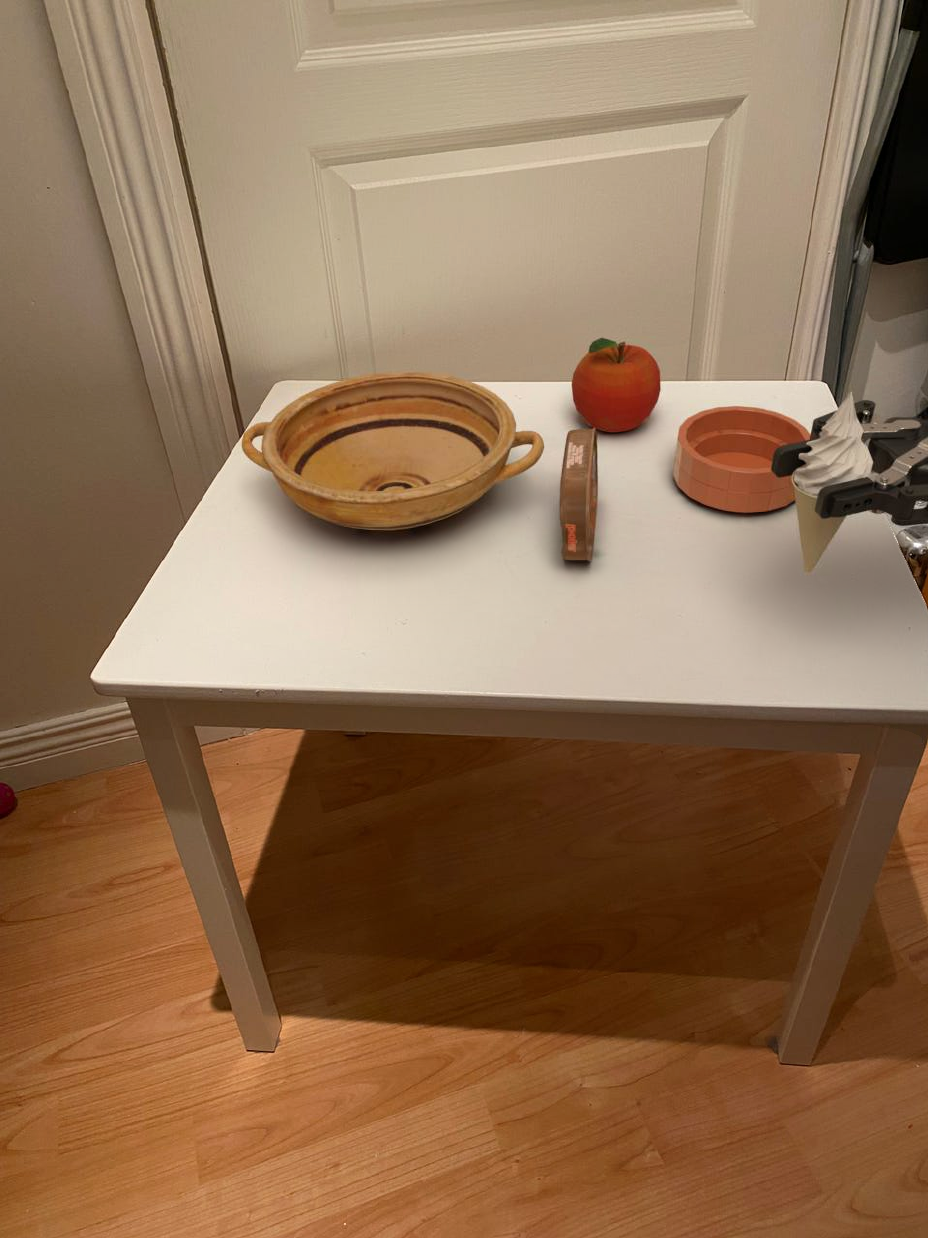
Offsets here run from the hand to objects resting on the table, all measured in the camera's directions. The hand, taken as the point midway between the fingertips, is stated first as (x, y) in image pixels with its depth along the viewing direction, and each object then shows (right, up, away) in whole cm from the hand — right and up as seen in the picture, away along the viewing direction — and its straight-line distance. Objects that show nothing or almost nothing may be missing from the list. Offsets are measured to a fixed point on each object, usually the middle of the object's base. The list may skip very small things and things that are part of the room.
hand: (797, 483), depth 66 cm
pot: (+4, +4, +28) cm, 28 cm away
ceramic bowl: (-30, +2, +29) cm, 42 cm away
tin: (-13, -1, +23) cm, 26 cm away
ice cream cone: (+3, -6, +6) cm, 9 cm away
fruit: (-7, +12, +38) cm, 40 cm away
